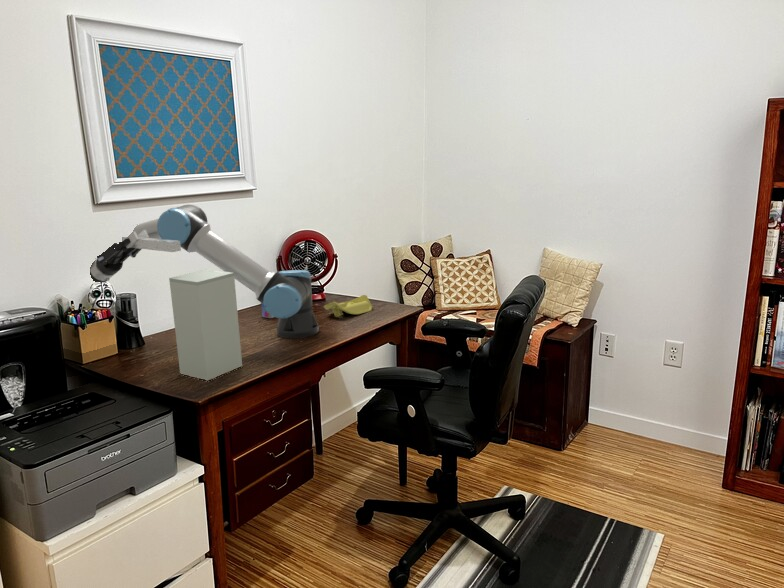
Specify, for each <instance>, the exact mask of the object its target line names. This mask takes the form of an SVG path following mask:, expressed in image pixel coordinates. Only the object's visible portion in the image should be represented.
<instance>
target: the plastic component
mask: <svg viewBox="0 0 784 588" xmlns="http://www.w3.org/2000/svg"><path fill="white" fill-rule="evenodd" d="M323 308H324V309H325V310H326V311H330V310H332V312H333V314H334V315H333V316H334V318H337V317H340V316H344V313H343V312H345V313H346V314H350V315H361V314H364V313H369V312H371V311H372V310H373V306H372V303H371V301H370V300H369V297H368V295H367V294H362V295H361V296H358V297H356V298H353V299H351V300H348V301H347V300H346V301H344V302H339V303H338V302H336V301H331V302H329V303H327V304H325V305H323Z"/></svg>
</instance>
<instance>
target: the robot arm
mask: <svg viewBox="0 0 784 588" xmlns="http://www.w3.org/2000/svg"><path fill="white" fill-rule="evenodd" d="M136 225H137V226H136V227H135V228H134V230H133V232H132V233H131V234H130V235H129V236H128V237H127V238H126V239H125V240H124V241H122V242H119V244H117V243H114V244H113V245H112V246H111V247H109V248H108V249H107V250H106V251H105V252H103V253H102V254H101V255H99V256H97V258H95V261H94V262H93V263H92V265H91V267H90V275H91V278H92V279H93V281H95V282H105V283H106V282H109V281H110V279H111V278H112V277H113V276H114V275H116V274H117V273H118V272H119V271H121V270H122V268H123V267H124V266H123V265H124V262H125V261H126V260H128V259H129V257H130V258H132V259H133V258H136V257H137V255H138V254H139V253H140V251H142V249H138V248H129V247H131V246H132V245H133V244H134V243H135V242H136V241H137V240H138V239H139V238H138V237H144V238H155V239H166V240H177V241H180V246H181V249H183V250H184V251H186V252H188V253H197V254H198V255H200V256H201V257H203V258H204V259H206V260H207V261H208V262H210V264H213V265H214V266H216V268H218V269H220V270H221V271H224V272H232V273H234V279H235V281H238V282H239V283H240V284H242V285H243V286H245V288H248V289H249V290H251V291H252V292H253V293H254V294H255V297H256V300H257V301H258V302H260V304H261V303H263V304H264V306H265V309H266V311H267V312H268V313H269V314H270V315H272V316H273V317H274V318H276V319H278V320H277V326H276V335H277V336H278V337H281V338H284V339H304V338H310V337H312V336H315V335H316V334H318V333H319V331H320V329H319V323H318V321H317V318H316V315H315V313H314V310H313V293H312V292H313V291H312V277H311V272H310V271H309V270H303V269H301V270H300V269H294V270H293V269H291V270H290V269H289V270H280V271H270V270H268V269H267V268H265V267H263V266H262V264H261V265H260V263H258V262H257V261H255V260H253V259H252V258H250V256H248V255H246V254H245V253H243V252H242V251H241V250H239V249H238V248H236V247H235V246H233V245H232V244H230V243H229V242H228V241H226V240H225V239H223V238H222V237H220V236H219V235H218V234H216V233H215V232H213V231H212V230H211V224H210V223H208V218H207V214H206V212H205V211H204V210H203V209H202V208H200V206H198V205H194V204H183V205H182V206H177V207H176V206H175V207H171V208H168V209H167V210H165V211H163V212H162V213H161V215H160V216H159V217H158V218H156V219H153V220H149V221H146V222H142V223H139V225H138V224H136ZM114 248H115V249H114Z"/></svg>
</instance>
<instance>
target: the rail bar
mask: <svg viewBox="0 0 784 588" xmlns="http://www.w3.org/2000/svg"><path fill="white" fill-rule="evenodd" d="M126 238H127V237H122V241H124V240H125V239H126ZM138 238H139V239H138V240H137V241H136V242H135V243H134V244H133V245H132V246H131V247H129V248H138V249H141V250H149V251H158V252H167V253H175V252H181V251H182V248H181V246H180V241H177V240H166V239H155V238H144V237H138Z"/></svg>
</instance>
